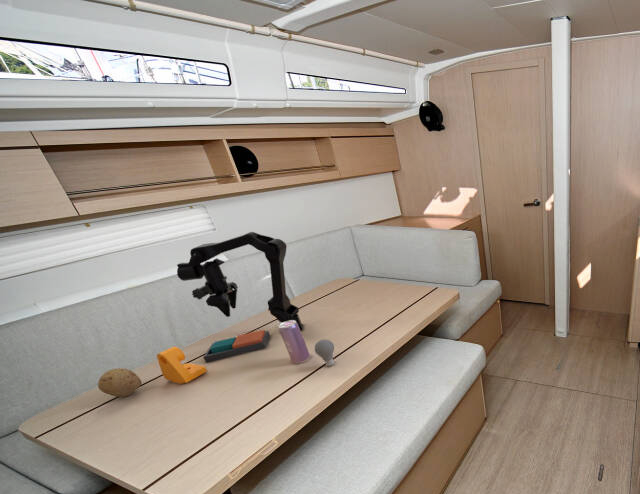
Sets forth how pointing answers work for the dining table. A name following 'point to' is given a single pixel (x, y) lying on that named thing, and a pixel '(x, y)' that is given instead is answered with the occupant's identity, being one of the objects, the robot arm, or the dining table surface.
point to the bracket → (178, 366)
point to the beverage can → (294, 341)
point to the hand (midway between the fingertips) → (231, 312)
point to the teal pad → (222, 345)
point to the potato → (119, 382)
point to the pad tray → (237, 350)
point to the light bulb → (325, 351)
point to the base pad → (248, 339)
